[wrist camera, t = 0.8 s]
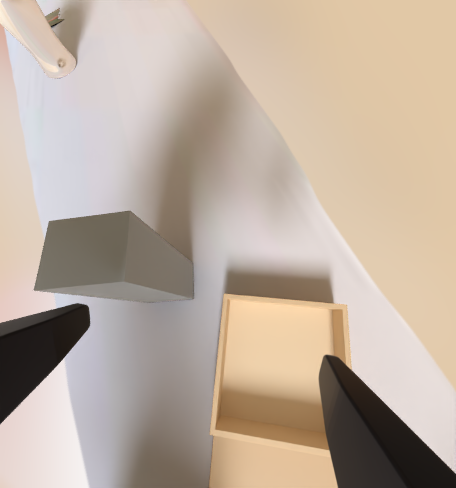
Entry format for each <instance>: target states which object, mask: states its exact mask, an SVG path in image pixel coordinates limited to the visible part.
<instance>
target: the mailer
mask: <svg viewBox="0 0 456 488" xmlns="http://www.w3.org/2000/svg"><path fill="white" fill-rule="evenodd" d="M326 354H328V355H333V356H337V357H339V358H340V359H341V360H342V361H343V362H344V363H345V364H346V365H347V366H348V367H349V368H350V369H351V370H352V366H351V352H350V339H349V325H348V311H347V305H344V304H333V303H322V302H311V301H300V300H289V299H278V298H267V297H255V296H244V295H233V294H224V297H223V307H222V317H221V326H220V336H219V346H218V356H217V366H216V376H215V386H214V396H213V406H212V416H211V426H210V435H213V436H214V438H213V449H212V459H211V469H210V480H209V488H338V486H337V481H336V477H335V473H334V468H333V464H332V460H331V455H330V451H329V447H328V442H327V437H326V432H325V425H324V418H323V410H322V403H321V395H320V388H319V371H320V367H321V363H322V359H323V356H324V355H326Z"/></svg>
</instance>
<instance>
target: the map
mask: <svg viewBox="0 0 456 488" xmlns="http://www.w3.org/2000/svg"><path fill="white" fill-rule="evenodd" d="M59 9H60V8H59ZM59 9H57V10H55V11H54V12H52V13H50V14H48V15H47V16H45V17H46V19H47V21H48V23H49V25H50V26H52V25H54V24H56V23H58V22H60V21H62V20H64V19H57V18H58V13H59ZM59 15H60V14H59Z"/></svg>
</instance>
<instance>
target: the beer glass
mask: <svg viewBox="0 0 456 488" xmlns="http://www.w3.org/2000/svg"><path fill="white" fill-rule="evenodd" d="M0 24H1V25H2V26H3V27H4V28H5V29H6V30H7V31H9V32H10V33H11V34H12V35H13V36H14V37H15V38H16V39H17V40H18V41H19V42H20V43H21V44H22V45H23V46H24V47H25V48H26V49H27V50H28V51H29V52H30V53H31V55H32V56H33V57H34V58H35V60H36V61H37V62H38V64H39V65H40V67H41V68H42V70H43V71H44V73H45V74H46V75H47V76H48V77H49V78H52V79H58V78H62V77H64V76H66V75H68V74H70V73H71V72H72V71H73V70H74V68H75V67H76V59H75V58H74V56H73V55H72V54H71V53H70V52H69V51H68V50H67V48H66V47H65V46H64V45H63V44H62V43H61V41H60V40H59V39H58V37H57V36H56V34H55V33H54V31H53V30H52V28H51V26H50V25H49V23H48V21H47V19H46V17H45V16H44V14H43V12H42V10H41V8H40V7H39V5H38V3H37V1H36V0H0Z"/></svg>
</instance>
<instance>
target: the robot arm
mask: <svg viewBox="0 0 456 488" xmlns="http://www.w3.org/2000/svg"><path fill="white" fill-rule="evenodd" d="M89 326H90V314H89V307H88V306H87V305H84V304H79V303H77V304H72V305H68V306H65V307H61V308H57V309H53V310H49V311H46V312H41V313H38V314H33V315H30V316H26V317H22V318H18V319H14V320H10V321H6V322H2V323H0V424H1V423H2V422H3V421H4V420H5V419H6V418H7V417H8V416H9V415H10V414H11V413H12V412H13V411H14V409H16V407H18V405H19V404H20V403H21V402H22V401H23V400H24V399H25V398H26V397H27V396H28V395H29V394H30V393H31V392H32V391H33V390H34V389H35V388H36V387H37V386H38V385H39V384H40V383H41V382H42V381H43V380H44V379H45V378H46V377H47V376H48V375H49V374H50V373H51V372H52V370H54V368H55V367H56V366H57V365H58V364H59V363H60V362H61V361H62V360H63V358H64V357H65V356H66V355H67V354H68V352H69V351H70V350H71V349H72V348H73V347H74V345H75V344H76V343H77V342H78V341H79V339H80V338H81V337H82V336H83V335H84V333H85V332H86V331H87V330H88V328H89ZM319 388H320V395H321V403H322V410H323V418H324V425H325V432H326V437H327V442H328V447H329V451H330V455H331V460H332V464H333V468H334V473H335V477H336V481H337V486H338V488H456V474H455V473H454V472H453V471H452V470H451V469H450V468H449V467H448V466H447V465H446V464H445V463H444V462H443V461H442V460H441V459H440V458H439V457H438V456H437V455H436V454H435V453H434V452H433V451H432V450H431V449H430V448H429V447H428V446H427V445H426V444H425V443H424V442H423V441H422V440H421V439H420V438H419V437H418V436H417V435H416V434H415V433H414V432H413V431H412V430H411V429H410V428H409V427H408V426H407V425H406V424H405V423H404V422H403V421H402V420H401V419H400V418H399V417H398V416H397V415H396V414H395V413H394V412H393V411H392V410H391V409H390V408H389V407H388V406H387V405H386V404H385V403H384V402H383V401H382V400H381V399H380V398H379V397H378V396H377V395H376V394H375V393H374V392H373V391H372V390H371V389H370V388H369V387H368V386H367V385H366V384H365V383H364V382H363V381H362V380H361V379H360V378H359V377H358V376H357V375H356V374H355V373H354V372H353V371H352V370H351V369H350V368H349V367H348V366H347V365H346V364H345V363H344V362H343V361H342V360H341V359H340V358H339V357H337V356H333V355H328V354H326V355H324V356H323V359H322V363H321V367H320V371H319Z"/></svg>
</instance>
